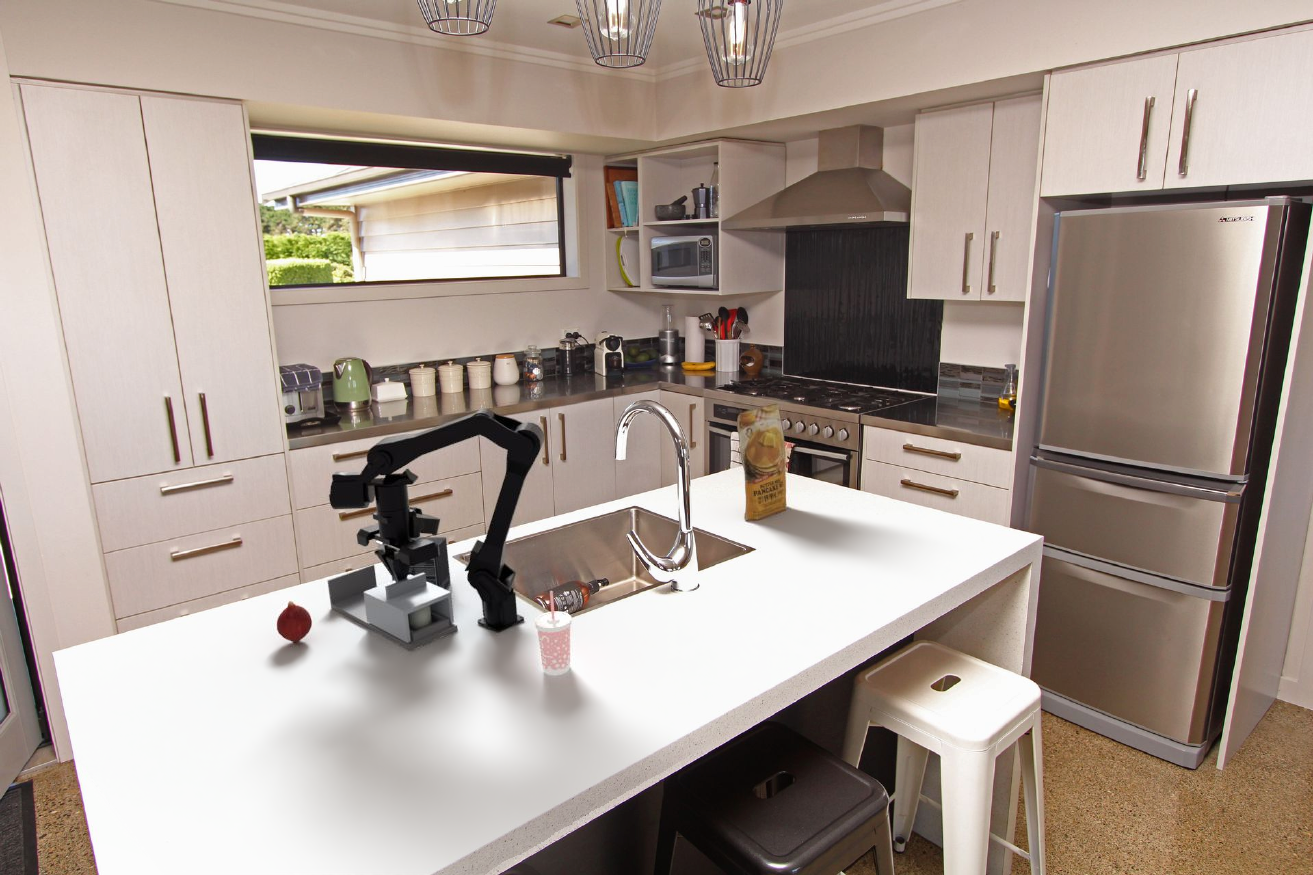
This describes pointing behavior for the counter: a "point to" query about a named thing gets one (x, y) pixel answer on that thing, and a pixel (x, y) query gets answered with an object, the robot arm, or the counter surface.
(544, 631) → the beverage cup
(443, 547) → the small box
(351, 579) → the housing
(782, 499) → the pancake mix bag
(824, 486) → the counter surface
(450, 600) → the lid
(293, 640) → the onion
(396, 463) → the robot arm
